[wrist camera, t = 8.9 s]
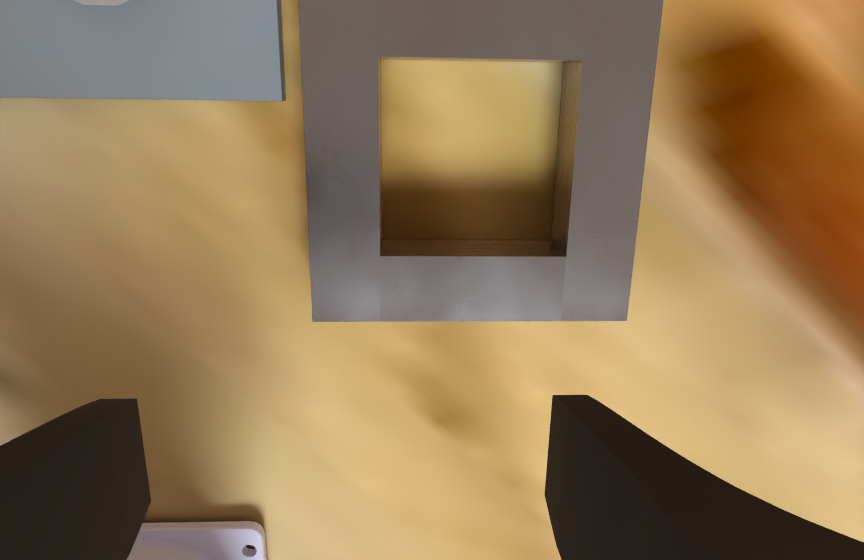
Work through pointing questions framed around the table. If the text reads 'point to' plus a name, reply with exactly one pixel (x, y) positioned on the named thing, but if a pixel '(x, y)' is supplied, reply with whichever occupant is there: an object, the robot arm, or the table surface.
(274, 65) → the mat
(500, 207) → the table surface
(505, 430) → the table surface
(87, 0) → the rook chess piece
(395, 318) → the square collar
